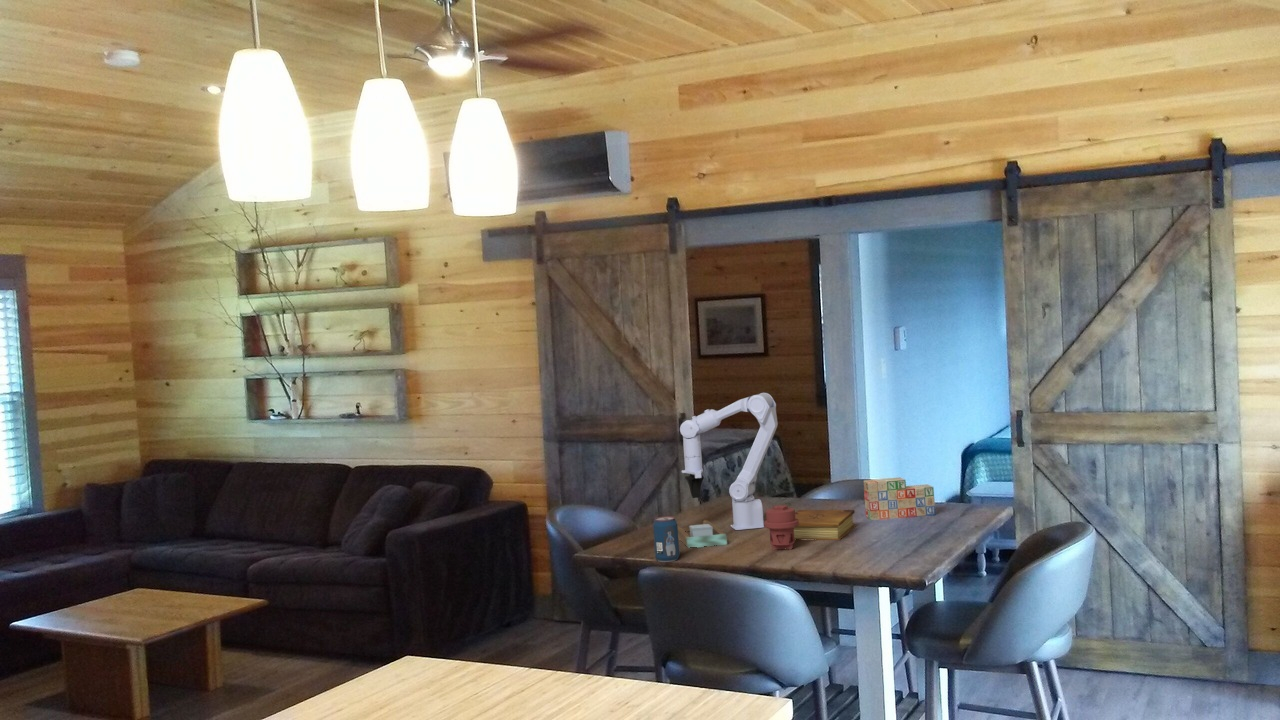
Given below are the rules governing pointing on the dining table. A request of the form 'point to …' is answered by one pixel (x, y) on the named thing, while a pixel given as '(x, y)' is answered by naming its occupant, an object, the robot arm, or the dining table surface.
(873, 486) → the stack of blocks
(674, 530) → the soda can
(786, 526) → the mechanical component
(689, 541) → the bay
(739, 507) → the robot arm
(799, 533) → the diary
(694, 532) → the box
